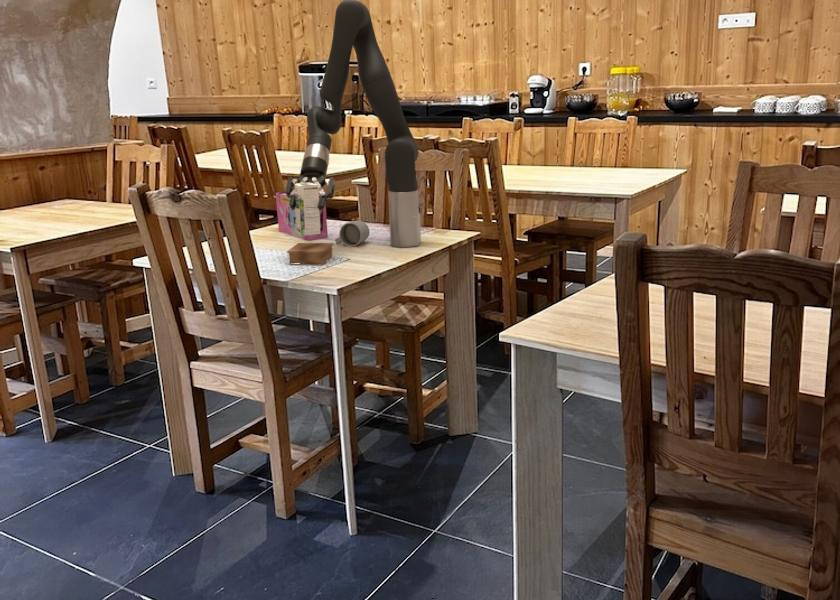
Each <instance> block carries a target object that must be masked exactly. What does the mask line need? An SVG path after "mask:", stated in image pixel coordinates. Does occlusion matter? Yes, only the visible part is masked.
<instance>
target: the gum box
mask: <svg viewBox="0 0 840 600" xmlns="http://www.w3.org/2000/svg"><path fill="white" fill-rule="evenodd" d="M319 197H320V195H319ZM275 200H276V201H275V202H276V213H277V222H278V224H277V225H278V231H279V232H282V233H285V234H287V235H291V236H294V237H297V238H299V237H300V239H303V240H305V241H313V239H314V240H319V239H326V238H325V237H327V238H329V236H328V221H327V207H326V205H325V207H324V209H322V210H319V212H320V234H315V235H307V236H302V235H301V234H299V233H297V224H296V207H295V210H292V209H291V207H290V205H289V202H290V198H288V197H287V195H286V193H285V191H280V192H279V191H278V192H276V193H275Z"/></svg>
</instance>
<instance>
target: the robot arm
mask: <svg viewBox="0 0 840 600" xmlns="http://www.w3.org/2000/svg"><path fill="white" fill-rule="evenodd" d="M372 21H373V20H372V17H371V13H370V11H369V9H368V7H367V5H365V4H364V3H363V2H362V1H359V0H342V1H341V2H340V3H339V4H338V5H337V7H336V10H335V15H334V25H333V33H332V34H333V35H332V41H331V46H330V50H329V51H330V52H329V56H328V59H327V60H328V61H327V64H326V68H325V72H324V76H323V79H322V82H321V87H320V90H319V97H320V98H321V99H322V100H324V101H326V103H327V102H328V103H329V104H330V105H332V109H329V108H324V107H322V106H319V105H317V106H316V105H314V106H312V107H310V109H309V110H308V112H307V116H306V124H307V125H306V126H307V130H308V131H307V132H308V139H307V142H306V143H307V145H306V148H305V152H304V154H303V158H302V162H301V167H300V173H299V176H298V178H293V176H288V179H287V182H286V186H285V190H284V192H285V193H286V195H287V197H288V198H290V202H289V205H290V207H291V209H292V210H295V207H296V204H295V184H297V183H313V184H316V185H318V191H319V196H320V197H319V203H318V209H319V210H322V209H324V207H325V206H326V202H327V200H328V199H330V200H331V199H333V198H334V193H335V187H336V181H335V179H334V177H332V176H331V177H329V178H326V177H327V172H328V167H329V165H330V153H331V148H332V141H333V139H332V137H331V135H336V134H337V133H338V132H339V131H340V130H341V127H342V102H343V97H344V93H345V90H346V86H347V83H348V78H349V73H350V72H349V71H350V61H351V55H352V49H354V52H355V56H356V60H357V61H356V62H357V69H358V76H359V79H360V83H361V86H362V89H363V91H364V95H365V98H366V100H367V102H368V104H369V106H370V107H371V110H372V111H373V112H374V114H375V115H376V117H377V119H378V120H379V122H380V123H381V125H382V128H383V130H384V133H385V136H386V139H387V140H386V141H387V142H388V143H387V145H386V148H385V150H384V165H385V179H386V183H387V189H388V190H387V191H388V193H387V194H388V210H389V211H388V213H389V217H388V219H389V235H390V237H389V239H390V242H389V243H390V246H392V247H396V248H410V247H419V246H420V245H421V243H422V241H421V239H422V237H421V234H422V233H421V213H420V212H419V211H420V209H419V185H418V184H419V182H418V180H417V176H416V161H417V159H418V157H419V147H418V144H417V141H416V140H415V138H414V136H413V134H412V132H411V130H410V127H409V125H408V123H407V121H406V117H405V116H404V112H403V109H402V104H401V101H400V98H399V96H398V95H399V94H398V92H397V89H396V86H395V82H394V81H393V77H392V75H391V72H390V69H389V67H388V64H387V62H386V59H385V57H384V55H383V53H382V51H381V48H380V47H379V44H378V41H377V37H376V33H375V30H374V26H373V22H372ZM326 184H327V191H326V192H325V191H324V189H323V187H324V186H325V185H326ZM420 242H421V243H420Z"/></svg>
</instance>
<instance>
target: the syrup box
mask: <svg viewBox="0 0 840 600" xmlns="http://www.w3.org/2000/svg"><path fill="white" fill-rule="evenodd" d="M294 189H295V204H296V224H297V233H299V234H301V235H302V236H307V235H315V234H320V212H319V209H318V203H319V196H320V194H319V191H318V185H316V184H313V183H297V184H295V187H294Z"/></svg>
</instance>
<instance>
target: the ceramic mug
mask: <svg viewBox="0 0 840 600" xmlns="http://www.w3.org/2000/svg"><path fill="white" fill-rule="evenodd" d="M338 235H339V236H338V237H336V238H335V239H334V241H335V243H336V245H338V244H340V243H342V244H343V245H345V246H347V247H349V246H350V247H353V246H354V247H356V246H358V245H360V244H362V243H364V242H365V241H366V240H368V238H369V236H370V227H369V226H368V224H367V223H366V222H364V221H363V220H354V221H350V222H346V223H344V224H343V225H341V227H340V230H339V234H338ZM354 247H353V248H354Z"/></svg>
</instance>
